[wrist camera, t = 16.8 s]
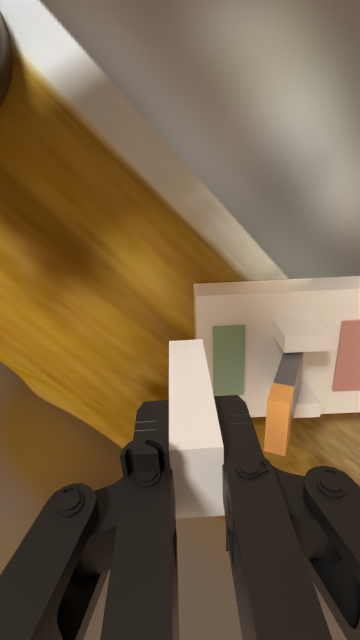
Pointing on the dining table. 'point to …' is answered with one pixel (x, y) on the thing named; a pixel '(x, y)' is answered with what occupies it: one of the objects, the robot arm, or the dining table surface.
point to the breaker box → (283, 340)
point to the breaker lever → (282, 403)
